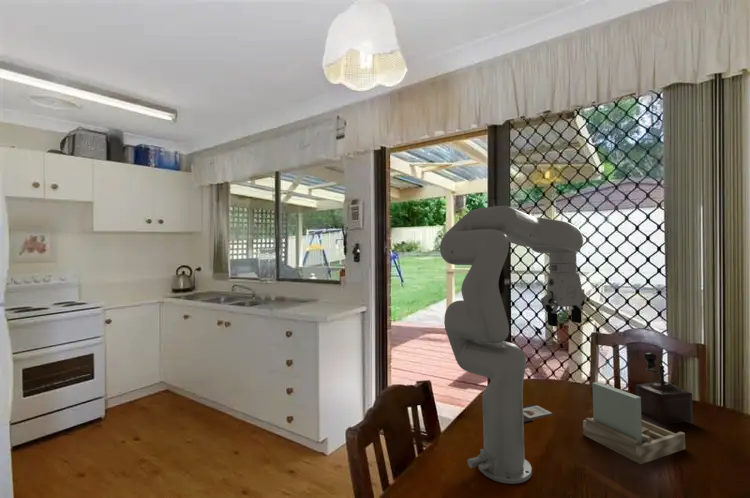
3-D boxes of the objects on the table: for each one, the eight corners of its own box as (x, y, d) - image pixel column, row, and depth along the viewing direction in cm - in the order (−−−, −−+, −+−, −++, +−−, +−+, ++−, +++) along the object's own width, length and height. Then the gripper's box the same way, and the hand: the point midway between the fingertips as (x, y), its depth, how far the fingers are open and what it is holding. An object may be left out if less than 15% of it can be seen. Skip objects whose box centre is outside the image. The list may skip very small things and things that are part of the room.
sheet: (637, 458, 94) (635, 398, 94) (594, 436, 106) (592, 382, 106) (642, 456, 95) (640, 397, 95) (599, 435, 106) (597, 381, 106)
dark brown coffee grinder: (697, 424, 113) (695, 364, 113) (663, 428, 111) (661, 367, 111) (652, 403, 128) (650, 350, 128) (622, 406, 127) (621, 352, 126)
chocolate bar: (490, 413, 123) (534, 404, 129) (490, 416, 123) (534, 406, 129) (509, 425, 115) (555, 414, 121) (509, 428, 115) (555, 417, 121)
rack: (640, 468, 92) (639, 443, 92) (583, 438, 107) (582, 416, 107) (685, 452, 98) (684, 429, 98) (625, 426, 113) (624, 406, 113)
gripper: (550, 270, 110) (552, 329, 110) (594, 267, 116) (596, 323, 116) (531, 269, 117) (533, 324, 117) (573, 266, 123) (575, 319, 123)
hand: (564, 324), depth 117 cm, fingers open, 9 cm apart
